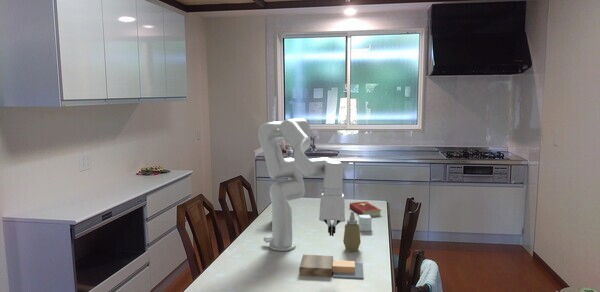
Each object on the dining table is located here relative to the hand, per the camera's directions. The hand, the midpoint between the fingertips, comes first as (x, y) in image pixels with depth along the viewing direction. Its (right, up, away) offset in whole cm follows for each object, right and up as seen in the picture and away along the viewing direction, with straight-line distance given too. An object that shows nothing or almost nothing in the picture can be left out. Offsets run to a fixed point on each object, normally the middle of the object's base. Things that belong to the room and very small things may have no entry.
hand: (331, 234), depth 168 cm
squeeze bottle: (+11, -12, +24) cm, 29 cm away
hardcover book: (+27, -5, +86) cm, 90 cm away
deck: (-6, -15, +2) cm, 16 cm away
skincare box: (+22, -9, +53) cm, 58 cm away
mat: (+7, -15, +1) cm, 17 cm away
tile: (+5, -14, +1) cm, 15 cm away
